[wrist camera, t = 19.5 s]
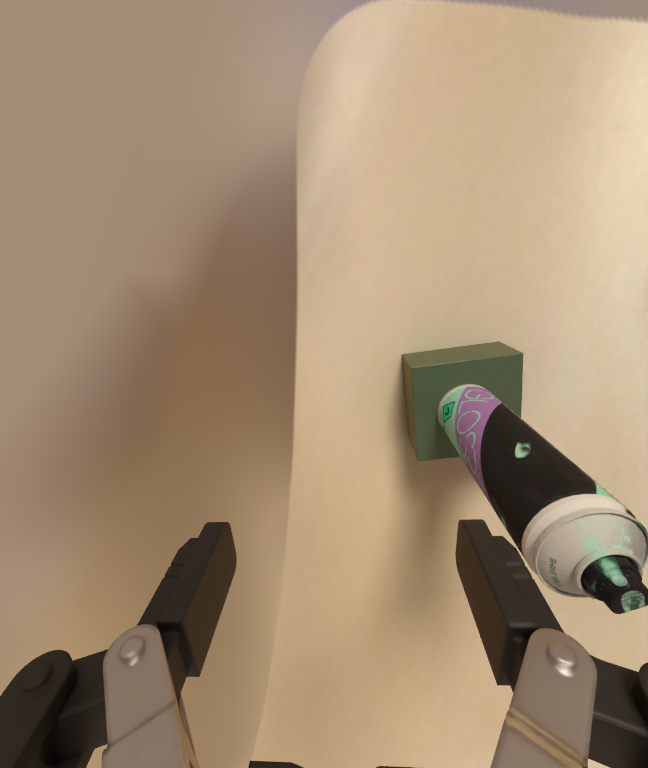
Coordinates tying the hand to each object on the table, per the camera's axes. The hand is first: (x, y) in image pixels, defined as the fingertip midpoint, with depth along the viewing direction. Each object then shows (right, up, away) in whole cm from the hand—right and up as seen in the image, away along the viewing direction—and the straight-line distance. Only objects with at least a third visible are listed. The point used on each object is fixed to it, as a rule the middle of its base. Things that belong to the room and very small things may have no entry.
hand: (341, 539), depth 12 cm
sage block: (+13, +5, +26) cm, 29 cm away
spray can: (+13, +3, +21) cm, 25 cm away
